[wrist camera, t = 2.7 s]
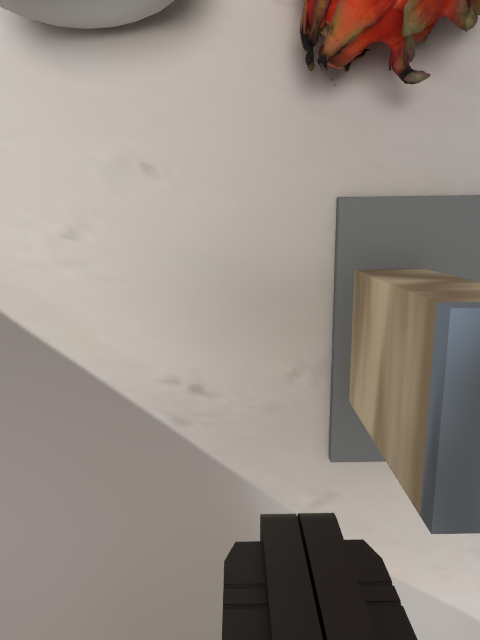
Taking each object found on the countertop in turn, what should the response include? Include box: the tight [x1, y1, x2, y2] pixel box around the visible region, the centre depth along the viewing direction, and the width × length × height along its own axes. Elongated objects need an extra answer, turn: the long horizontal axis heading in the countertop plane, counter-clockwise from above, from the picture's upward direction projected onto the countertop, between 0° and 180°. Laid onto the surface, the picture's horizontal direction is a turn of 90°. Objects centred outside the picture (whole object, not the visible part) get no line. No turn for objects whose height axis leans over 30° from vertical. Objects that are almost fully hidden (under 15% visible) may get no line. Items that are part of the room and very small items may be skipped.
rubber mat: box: [329, 195, 480, 462], centre depth 27 cm, size 17×16×1 cm
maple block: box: [349, 269, 480, 534], centre depth 21 cm, size 4×8×12 cm, turn 1°
